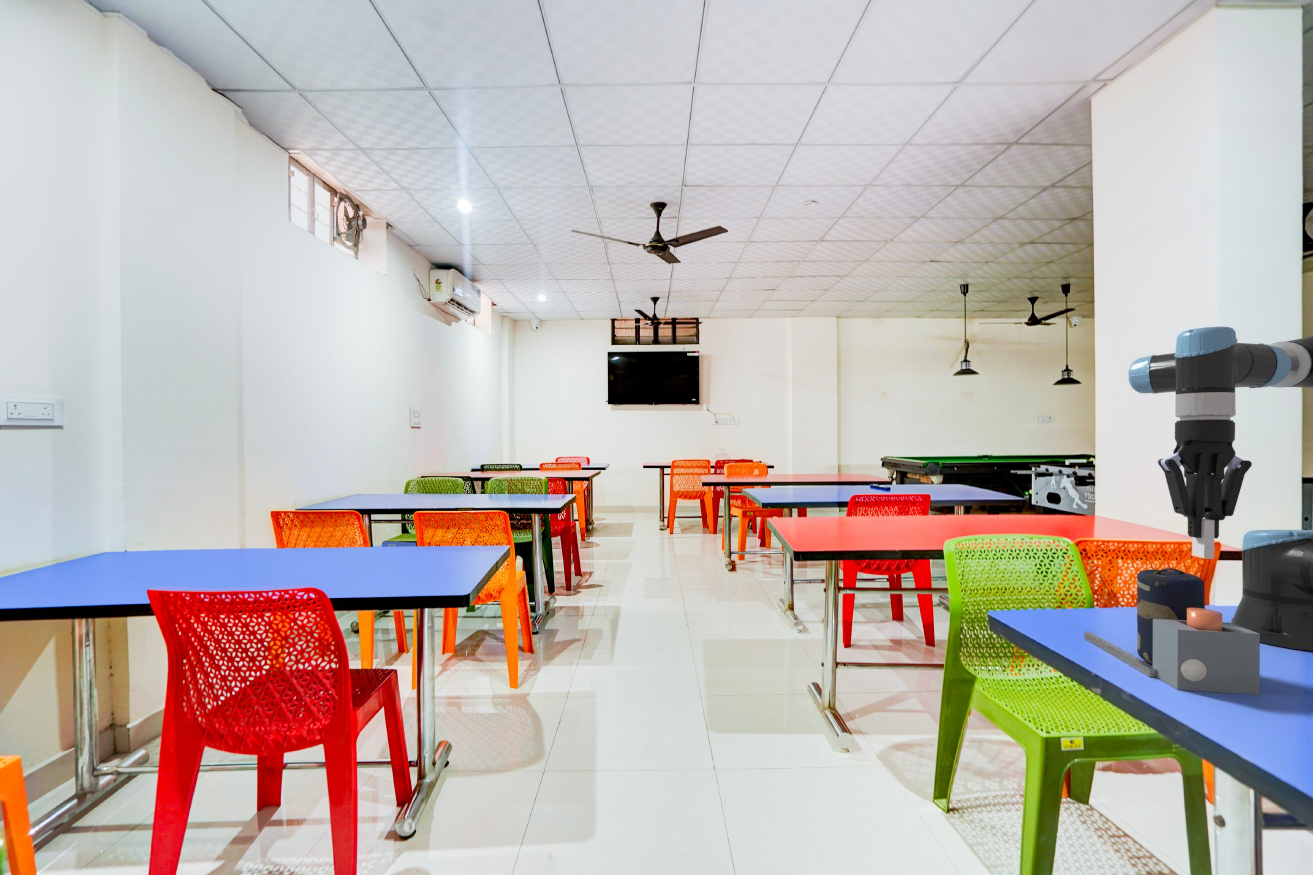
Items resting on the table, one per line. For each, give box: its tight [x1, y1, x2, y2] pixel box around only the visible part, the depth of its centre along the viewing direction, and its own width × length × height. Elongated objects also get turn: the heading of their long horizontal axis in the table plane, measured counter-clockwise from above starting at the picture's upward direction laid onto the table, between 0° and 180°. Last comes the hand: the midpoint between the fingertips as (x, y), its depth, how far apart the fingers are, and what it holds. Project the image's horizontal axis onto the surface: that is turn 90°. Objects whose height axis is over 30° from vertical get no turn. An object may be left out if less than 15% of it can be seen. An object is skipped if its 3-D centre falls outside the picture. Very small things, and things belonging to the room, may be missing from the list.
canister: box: [1136, 567, 1206, 665], centre depth 108 cm, size 10×10×18 cm
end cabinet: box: [1152, 619, 1261, 696], centre depth 99 cm, size 12×6×10 cm, turn 81°
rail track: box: [1083, 631, 1158, 679], centre depth 111 cm, size 15×20×2 cm
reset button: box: [1187, 608, 1223, 631], centre depth 100 cm, size 4×4×4 cm
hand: (1202, 556), depth 100 cm, fingers closed
